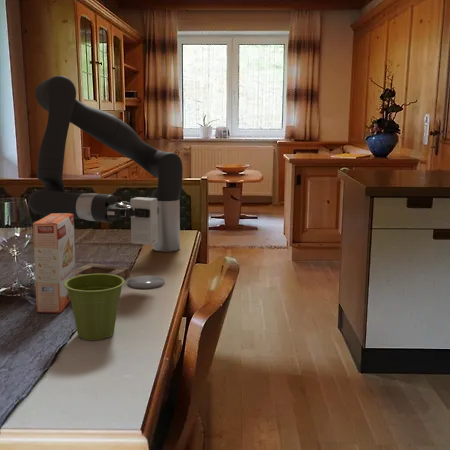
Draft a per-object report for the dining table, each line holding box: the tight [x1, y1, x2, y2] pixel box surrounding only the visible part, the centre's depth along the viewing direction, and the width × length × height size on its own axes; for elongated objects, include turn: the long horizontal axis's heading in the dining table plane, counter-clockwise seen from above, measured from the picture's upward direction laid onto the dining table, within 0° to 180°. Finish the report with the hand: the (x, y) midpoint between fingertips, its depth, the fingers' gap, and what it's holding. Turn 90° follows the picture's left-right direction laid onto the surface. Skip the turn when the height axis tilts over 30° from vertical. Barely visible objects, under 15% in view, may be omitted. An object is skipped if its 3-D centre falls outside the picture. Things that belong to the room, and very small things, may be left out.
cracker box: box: [32, 213, 76, 314], centre depth 124 cm, size 14×6×21 cm, turn 2°
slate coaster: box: [126, 275, 166, 290], centre depth 142 cm, size 10×10×1 cm
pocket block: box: [75, 262, 131, 280], centre depth 145 cm, size 13×13×2 cm
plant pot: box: [64, 274, 126, 341], centre depth 107 cm, size 12×12×11 cm
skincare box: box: [130, 196, 158, 246], centre depth 139 cm, size 6×4×12 cm
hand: (153, 212), depth 138 cm, fingers closed on skincare box, 4 cm apart
